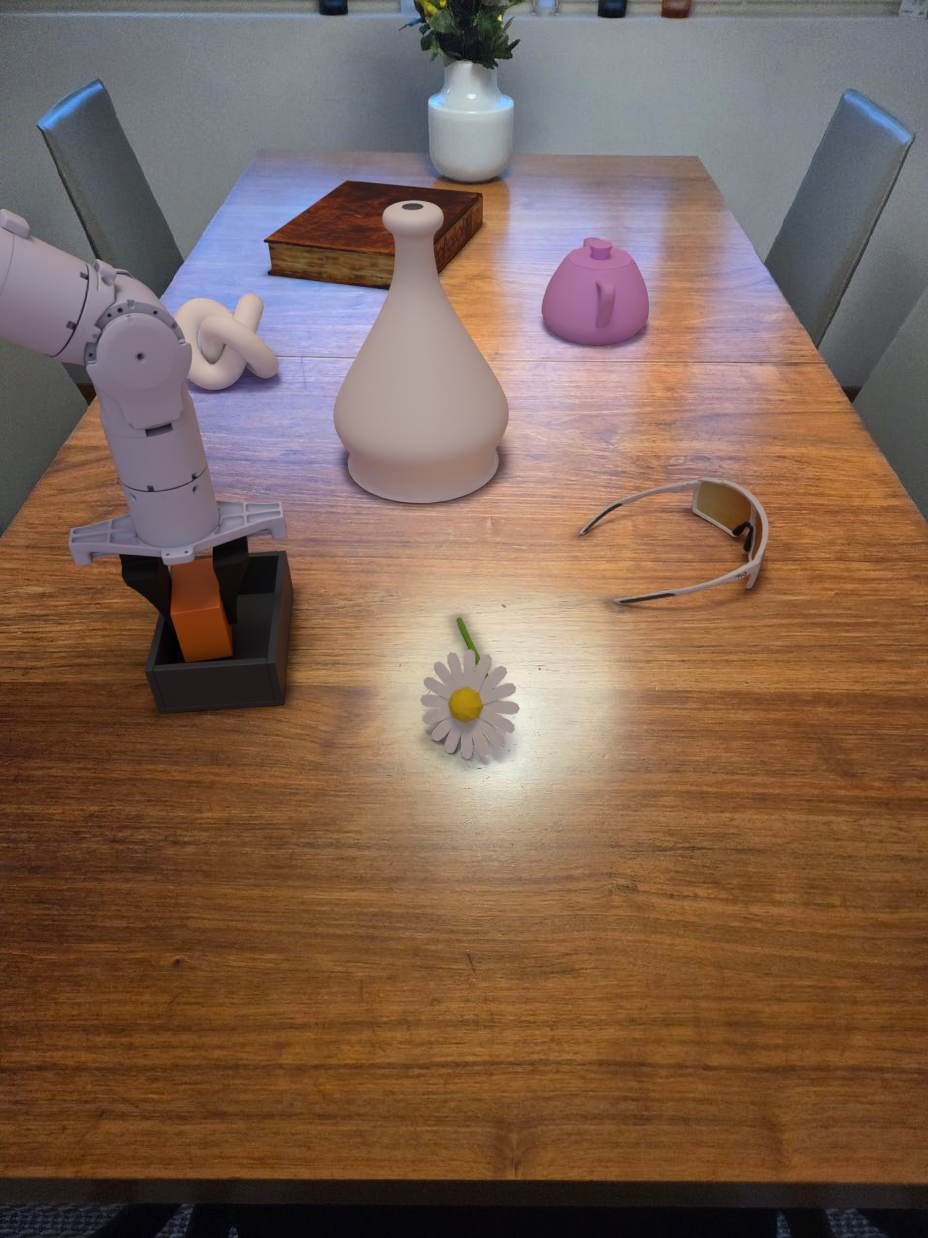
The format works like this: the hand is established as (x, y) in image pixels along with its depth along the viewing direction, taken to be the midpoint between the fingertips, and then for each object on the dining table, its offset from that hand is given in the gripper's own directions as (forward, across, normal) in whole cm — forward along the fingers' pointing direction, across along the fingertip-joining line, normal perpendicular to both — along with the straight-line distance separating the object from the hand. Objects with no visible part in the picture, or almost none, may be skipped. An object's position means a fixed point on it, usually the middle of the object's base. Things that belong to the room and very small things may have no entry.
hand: (204, 619), depth 67 cm
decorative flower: (+4, +18, -8) cm, 20 cm away
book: (+4, +27, +86) cm, 91 cm away
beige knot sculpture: (+4, +4, +48) cm, 48 cm away
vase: (+4, +22, +24) cm, 33 cm away
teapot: (+4, +50, +52) cm, 72 cm away
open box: (+4, +1, 0) cm, 4 cm away
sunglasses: (+4, +40, +4) cm, 41 cm away
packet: (+1, 0, 0) cm, 1 cm away
